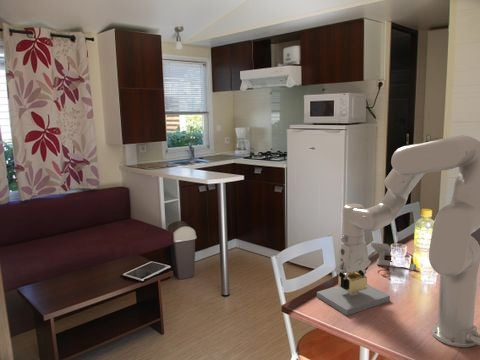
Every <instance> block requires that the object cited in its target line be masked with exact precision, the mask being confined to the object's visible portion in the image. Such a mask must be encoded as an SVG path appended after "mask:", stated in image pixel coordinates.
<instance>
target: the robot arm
mask: <svg viewBox="0 0 480 360" xmlns="http://www.w3.org/2000/svg"><path fill="white" fill-rule="evenodd" d="M390 164H391V166H392V169H391V171H390V172H389V173H388V175H387V176H386V177H385V178H384V181H383V182H384V183H383V184H384V186H385V187H386V189H387V191H386V193H385V195H384V196H383V197H382V199H381V200H380V201H379V203H378V204H376V205H374V206H371V207H368V208H365V206H364V205H363V204H359V203H346V204H345V205H344V206H343V207H342V238H340V242H341V244H340V247H339V248H340V249H339V255H338V264H337V265H336V267H334V272H335V273H336V275H338V278H339V277H341V287H342V288H344V289H345V290H348V279H347V277H348V274H349V273H352V272H358V273H360V274H362V275H364V276H366V273H367V270H368V269H369V266H370V264H371V263H372V261H371V260H370V259H369V251H368V245H367V242H366V240H365V234H366V233H365V232H368V233H369V232H371V233H372V232H375V231H377V230H379V229H381V228H384V227H386V226H388V225H390V224H391V223H393V221H394V220H395V219H396V218H397V217H398V216H399V214H400V213H401V212H402V211H403V208H404V207H405V206H406V204H407V201H408V198H409V195H410V193H411V192H412V191H413V190H414V188H415V187H416V186H417V184H418V183H419V181H420V180H422V178H423V176H424V175H425V174H428V173H429V174H430V173H436V172H442V171H444V172H445V171H449V170H452V169H456V168H458V173H457V176H456V178H455V181H454V185H453V186H454V187H453V193H452V197H451V200H450V202H449V204H446V205H445V206H443V207H442V208H441V209H440V210H438V212H437V214H436V216H435V218H434V221H433V226H432V231H431V238H430V243H429V251H428V260H429V264H430V266H431V268H432V269H433V271H435V273H437V274H439V275H440V276H439V286H438V287H439V289H438V304H437V305H438V309H437V322H436V323H435V324H433V325H432V326H431V334H432V336H433V337H434V338H435V339H436V340H438V341H439V342H441V343H443V344H445V345H449V346H452V347H457V348H472V347H474V346H476V345H477V346H479V347H480V333H479V331H478V326H476V325H475V324H474V323H475V312H476V311H475V309H476V295H477V294H476V292H477V286H478V285H477V281H478V274H479V269H480V244H479V242H478V241H477V240H476V238H475V237H473V236H472V234H473V233H475V232H476V231H478V230H479V229H480V140H478V139H476V138H474V137H472V136H469V135H463V134H462V135H461V134H460V135H454V136H448V137H445V138H439V139H436V140H431V141H427V142H422V143H421V142H420V143H413V144H408V145H403V146H401V147H398V148H397V149H396V150H395V151H394V152H393V154H392V156H391V161H390ZM344 273H345V275H344Z"/></svg>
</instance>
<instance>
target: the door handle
mask: <svg viewBox="0 0 480 360" xmlns="http://www.w3.org/2000/svg"><path fill="white" fill-rule="evenodd" d="M370 245H371V248H373V250H374V251H376V253H378V258H377V259H376V265H377V266H381V267H384V266H388V267H391V266H390V261H391V260H386V259H385V257H391V256H390V252H391V249H392V248H391V246H390V245H389V244H388V243H380V242H370ZM409 264H410V271H416V270H417V264H416V263H409Z"/></svg>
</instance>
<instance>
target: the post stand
mask: <svg viewBox="0 0 480 360" xmlns="http://www.w3.org/2000/svg"><path fill="white" fill-rule="evenodd" d="M316 297H317V298H318V299H320V300H321V301H323V302H325V303H326V304H328V305H329V306H330V307H332V308H334V309H335V310H337V311H339V312H340V313H342V314H343V315H345V316H349V315H353V314H355V313H358V312H361V311H364V310H366V309H369V308H373V307H376V306H378V305H381V304H384V303H385V304H386V303H387V302H390V299H391V295H389V294H387V293H386V292H383V291H381V290H380V289H378V288H376V287H374V286H371V285H370V284H368V283H367V289H365V290H362V291H358V292H355V293H350V292H348V291H346V290H345V289H343V288H341V287H339V286H338V285H335V286H333V287H332V286H331V287H329V288H325V289H322V290H319V291H316Z"/></svg>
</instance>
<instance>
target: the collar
mask: <svg viewBox="0 0 480 360" xmlns="http://www.w3.org/2000/svg"><path fill="white" fill-rule="evenodd" d="M358 272H359V271H356V272H352V273H349V274H348V277H347V279H348V290H346V291H348V292H350V293H355V292H358V291H362V290H365V289H367V284H368V277H367V276H366V275H365V274H364V275H365V276H364V275H362V274H360V273H358ZM344 275H345V272H344ZM337 286H339V287H341V277H339V276H338V284H337ZM341 288H342V287H341ZM343 289H344V288H343Z"/></svg>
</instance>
